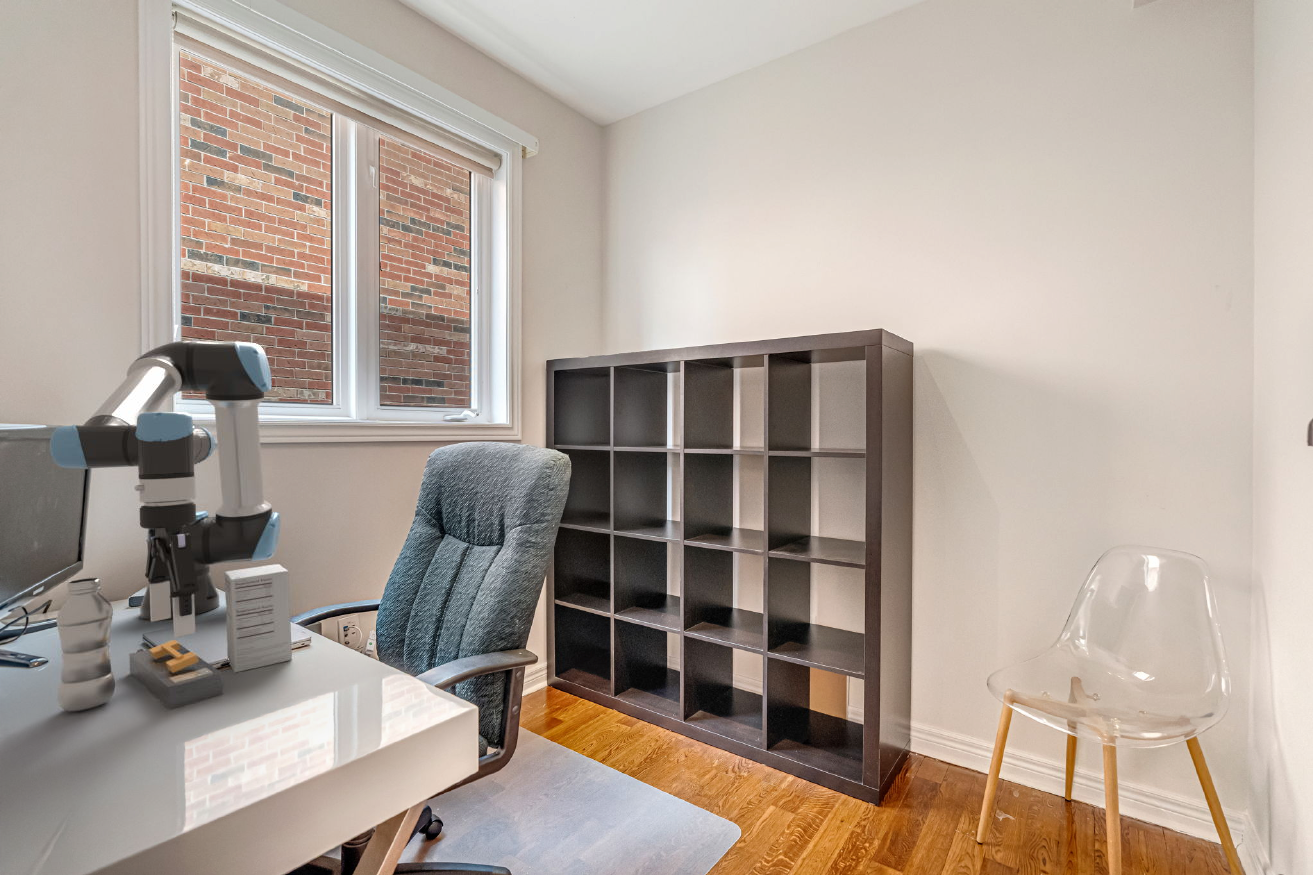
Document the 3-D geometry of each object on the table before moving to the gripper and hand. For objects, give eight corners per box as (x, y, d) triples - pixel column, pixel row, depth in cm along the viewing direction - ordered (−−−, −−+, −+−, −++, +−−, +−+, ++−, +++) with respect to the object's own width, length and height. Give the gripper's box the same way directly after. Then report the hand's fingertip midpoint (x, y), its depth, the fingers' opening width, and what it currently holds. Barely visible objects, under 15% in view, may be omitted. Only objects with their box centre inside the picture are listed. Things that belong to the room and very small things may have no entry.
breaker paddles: (151, 655, 108) (148, 647, 108) (175, 645, 111) (173, 637, 111) (172, 672, 100) (169, 663, 100) (198, 661, 103) (196, 652, 103)
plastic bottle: (50, 711, 96) (45, 583, 95) (105, 694, 102) (100, 573, 101) (68, 720, 93) (63, 587, 92) (124, 702, 99) (119, 577, 98)
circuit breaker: (116, 660, 117) (115, 641, 116) (162, 649, 122) (162, 631, 122) (169, 709, 95) (168, 686, 95) (222, 693, 101) (221, 671, 101)
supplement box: (293, 660, 115) (290, 570, 115) (233, 674, 109) (230, 579, 109) (282, 647, 123) (280, 562, 122) (226, 659, 116) (223, 570, 116)
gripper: (121, 500, 110) (125, 619, 110) (161, 510, 94) (166, 648, 95) (173, 496, 116) (177, 608, 116) (219, 505, 100) (223, 634, 101)
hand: (172, 626), depth 105 cm, fingers open, 13 cm apart
